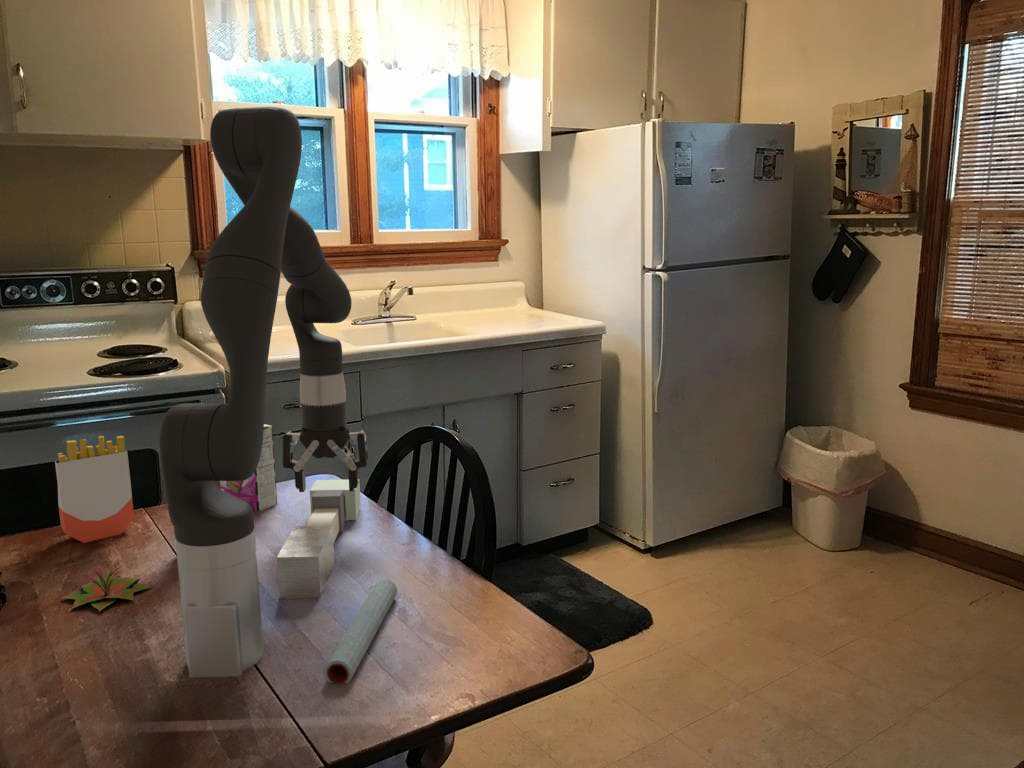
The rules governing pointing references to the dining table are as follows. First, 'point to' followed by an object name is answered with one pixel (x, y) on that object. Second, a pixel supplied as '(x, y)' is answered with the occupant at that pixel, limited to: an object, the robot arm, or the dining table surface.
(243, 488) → the candy bar box
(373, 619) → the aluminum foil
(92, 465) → the french fries container
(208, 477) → the robot arm
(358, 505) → the socket block
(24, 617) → the dining table surface
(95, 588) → the lily flower
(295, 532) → the cream rectangular block
